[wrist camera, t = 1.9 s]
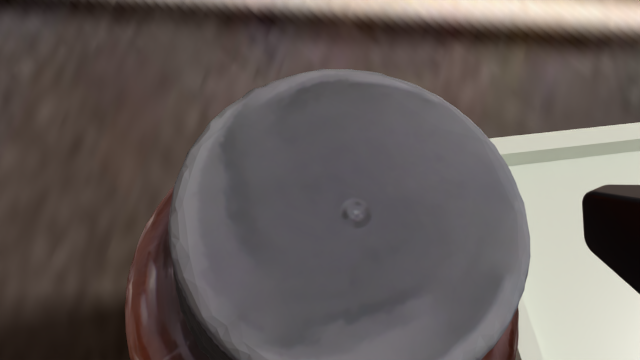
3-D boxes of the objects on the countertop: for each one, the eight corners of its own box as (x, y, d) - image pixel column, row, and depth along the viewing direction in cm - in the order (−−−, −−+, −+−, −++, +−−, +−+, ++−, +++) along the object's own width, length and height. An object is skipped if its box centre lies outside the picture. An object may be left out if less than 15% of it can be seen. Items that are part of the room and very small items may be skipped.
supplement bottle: (444, 405, 16) (743, 274, 6) (269, 565, 14) (311, 738, 4) (312, 241, 18) (386, -59, 8) (139, 361, 16) (-41, 153, 6)
